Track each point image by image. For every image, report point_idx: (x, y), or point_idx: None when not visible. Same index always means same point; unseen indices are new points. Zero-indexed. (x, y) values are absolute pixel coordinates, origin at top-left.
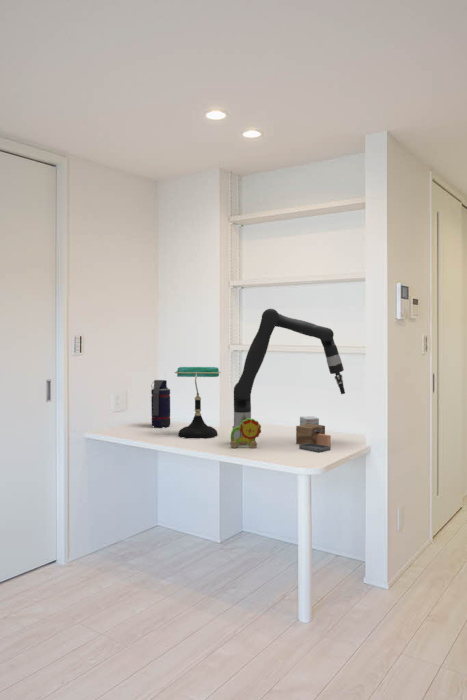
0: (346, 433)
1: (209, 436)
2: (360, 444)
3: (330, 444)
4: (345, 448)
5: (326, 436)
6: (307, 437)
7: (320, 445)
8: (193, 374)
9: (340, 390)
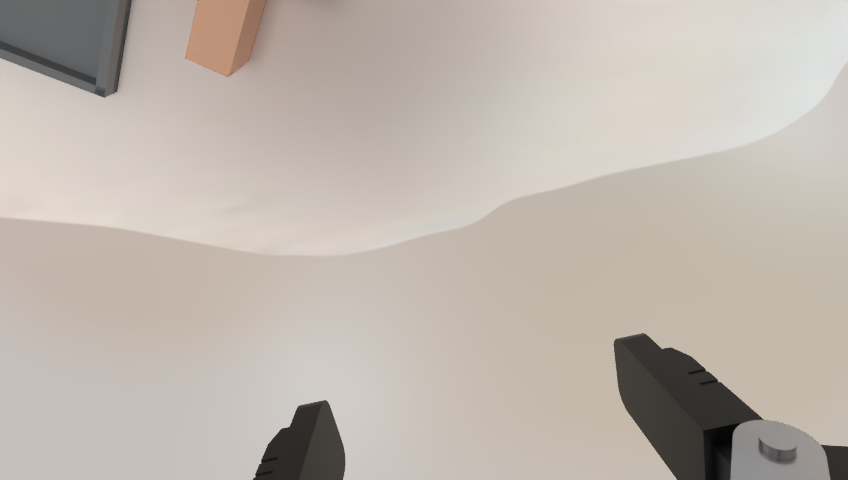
0: (774, 59)
1: None
2: (405, 218)
3: (244, 63)
4: (238, 169)
5: (190, 45)
6: None
7: (109, 5)
8: None
9: (279, 465)
